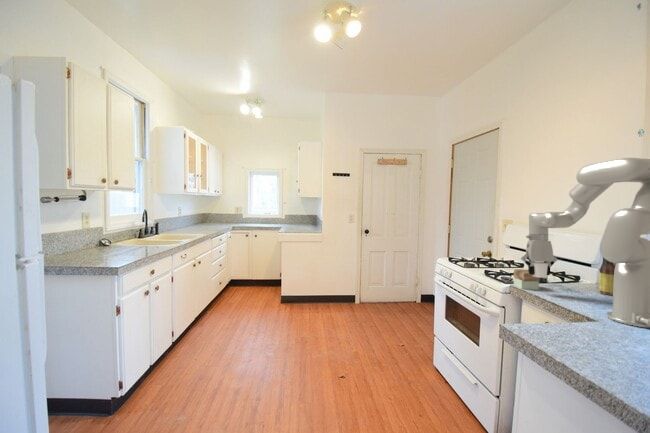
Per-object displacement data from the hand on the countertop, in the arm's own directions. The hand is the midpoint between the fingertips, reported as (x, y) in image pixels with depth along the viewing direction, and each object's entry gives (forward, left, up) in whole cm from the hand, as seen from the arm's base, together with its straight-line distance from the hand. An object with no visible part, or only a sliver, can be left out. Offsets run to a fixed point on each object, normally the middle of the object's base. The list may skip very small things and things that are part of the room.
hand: (539, 274), depth 136 cm
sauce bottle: (+6, -33, -10) cm, 35 cm away
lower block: (+11, 0, -10) cm, 15 cm away
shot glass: (0, 0, -1) cm, 1 cm away
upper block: (+11, 0, -5) cm, 12 cm away
